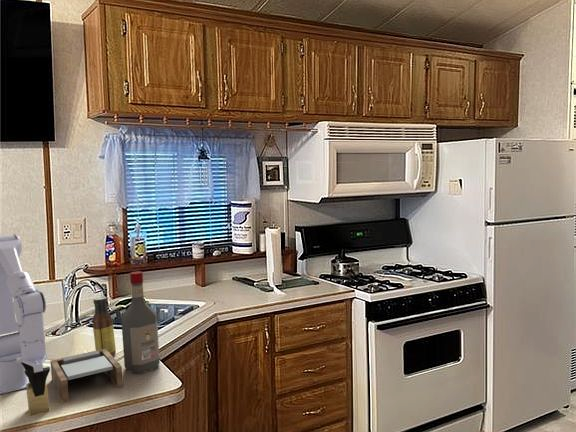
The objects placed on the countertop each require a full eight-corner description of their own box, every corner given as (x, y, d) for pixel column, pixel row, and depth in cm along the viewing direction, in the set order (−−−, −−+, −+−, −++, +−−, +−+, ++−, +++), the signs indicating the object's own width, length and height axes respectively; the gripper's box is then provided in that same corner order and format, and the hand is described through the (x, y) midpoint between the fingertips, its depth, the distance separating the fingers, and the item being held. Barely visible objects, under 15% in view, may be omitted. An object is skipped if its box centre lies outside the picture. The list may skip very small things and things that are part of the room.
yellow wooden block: (28, 409, 137) (26, 383, 136) (46, 404, 139) (44, 379, 138) (30, 416, 133) (28, 389, 132) (49, 411, 136) (47, 385, 135)
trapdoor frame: (51, 380, 155) (50, 360, 155) (107, 367, 164) (105, 348, 163) (62, 402, 140) (61, 380, 140) (123, 386, 149) (121, 366, 148)
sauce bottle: (118, 352, 177) (114, 295, 174) (112, 359, 170) (108, 299, 168) (98, 353, 176) (94, 295, 174) (92, 360, 170) (88, 300, 168)
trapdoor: (59, 367, 154) (58, 358, 154) (101, 358, 160) (100, 349, 160) (68, 383, 143) (67, 373, 142) (113, 372, 149) (112, 363, 149)
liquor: (163, 366, 163) (157, 272, 160) (136, 375, 156) (129, 277, 153) (148, 359, 169) (142, 268, 166) (121, 368, 163) (115, 273, 160)
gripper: (12, 335, 138) (16, 384, 139) (18, 350, 126) (23, 404, 127) (41, 329, 142) (45, 378, 143) (50, 344, 130) (54, 396, 131)
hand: (37, 390), depth 136 cm, fingers open, 7 cm apart
